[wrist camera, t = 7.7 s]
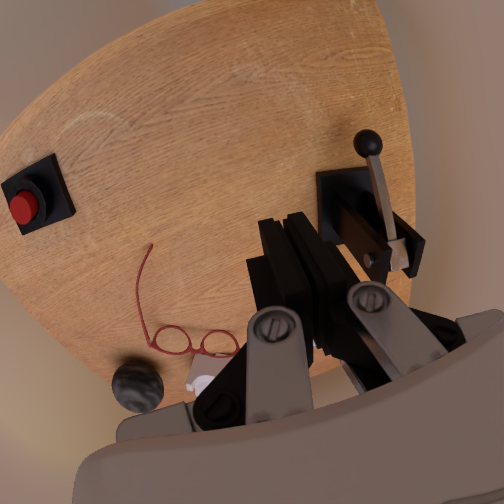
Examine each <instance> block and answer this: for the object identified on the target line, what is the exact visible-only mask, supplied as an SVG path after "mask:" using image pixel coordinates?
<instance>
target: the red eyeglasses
mask: <svg viewBox="0 0 504 504" xmlns="http://www.w3.org/2000/svg"><path fill="white" fill-rule="evenodd" d="M152 248H153V244H151V246H150V248H149V250H148V252H147V254H146V256H145V258H144V260H143V262H142V264H141V267H140V269H139V273H138V276H137V281H136V298H137V305H138V310H139V314H140V318H141V323H142V327H143V330H144V334H145V337H146V340H147V343H148V346H149V347H151V348H154V349H156V350H158V351H160V352H163V353H166V354H171V355H182V354H185V353H188V352H191V353H193V354H201V353H204V354H205V355H207V356H210V357H213V358H230V357H234V356H235V355H236V353H237V352H238V351H239V350H240V348H239V345H238V342H237V340H236V338H235V337H234V336H233V335H232V334H230V333H228V332H226V331H223V330H214V331H211V332H209V333H208V334H207V335H206V336H205V337H204V338H203V340H202V342H201V345H200V347H201V348H200V349H198V350H195V349H193V348H192V343H191V340H190V338H189V336H188V334H187V333H186V332H185V331H184V330H183V329H181V328H179V327H177V326H165V327H162V328H160V329H159V330H158V331H157V332H156V334H155V336H154V338H153V341H152V342H151V340H150V338H149V335H148V332H147V330H146V326H145V323H144V320H143V316H142V312H141V307H140V302H139V295H138V285H139V279H140V275H141V271H142V269H143V266H144V263H145V261H146V259H147V257H148V255H149V253H150V252H151V250H152ZM166 328H175V329H178V330H180V331H182V332H183V333H184V334H185V335H186V336H187V338H188V340H189V346H188V348H187V349H186V350H185V351H183V352H179V353H173V352H168V351H165V350H162V349H161V348H159V347H158V345H157V343H156V337H157V335H158V333H159V332H160V331H161V330H163V329H166ZM215 332H222V333H225V334H227V335H229V336H230V337H232V338H233V340H234V341H235V343H236V350H235V352H234V353H233V354H231V355H228V356H214V355H211V354H209V353H208V352H207V351H206V350H205V348H204V340H205V338H206V337H207V336H208V335H210V334H212V333H215Z"/></svg>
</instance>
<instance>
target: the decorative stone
mask: <svg viewBox="0 0 504 504" xmlns="http://www.w3.org/2000/svg"><path fill="white" fill-rule="evenodd" d="M112 390H113V393H114V395H115V398H116V400H117V401H118V402H119V403H120V404H121V405H122V406H123V407H124V408H126V409H127V410H129V411H132V412H137V413H146V412H149V411H151V410H153V409H155V408H156V407H157V406H158V405H159V404H160V402H161V401H162V399H163V396H164V385H163V381H162V379H161V377H160V375H159V374H158V372H157V371H156V370H155V369H154V368H152V367H151V366H150V365H147V364H145V363H142V362H128V363H125V364H123V365H122V366H120V367H119V368H118V369H117V370H116V372H115V373H114V376H113V379H112Z"/></svg>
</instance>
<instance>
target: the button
mask: <svg viewBox="0 0 504 504" xmlns="http://www.w3.org/2000/svg"><path fill="white" fill-rule="evenodd" d="M10 211H11V214H12V216H13V218H14V219H15V221H16V222H18V223H19V224H27V223H28V222H29V221H30V220H31V219H32V218H33V217H34V216H35V215H36V213H37V211H38V203H37V200H36V198H35V196H34V195H33V194H32V193H31V192H29V191H26V190H24V191H21V192H20V193H19V194H18V195H16V196H15V197H14V198H13V199H12V200H11V203H10Z"/></svg>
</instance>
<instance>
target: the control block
mask: <svg viewBox="0 0 504 504" xmlns="http://www.w3.org/2000/svg"><path fill="white" fill-rule="evenodd" d="M1 187H2V190H3V192H4V195H5V198H6V200H7V203H8V206H9V209H10V203H11V200H12V199H13V198H14V197H15V196H16V195H18V194H19V193H20V192H21V191H24V190H26V191H29V192H31V193H32V194H33V195H34V196H35V198H36V200H37V203H38V211H37V213H36V215H35V216H34V217H33V218H32V219H31V220H30V221H29V222H28V223H27V224H19V223H18V222H16V223H17V225H18V227H19V229H20V232H21V234H22V235H25V234H28V233H30V232H32V231H35V230H37V229H40V228H42V227H45V226H48V225H50V224H53V223H55V222H58V221H61V220H63V219H66V218H69V217H72V216H73V215H74V214H75V213H76V210H75V208H74V205H73V203H72V201H71V198H70V196H69V193H68V190H67V188H66V185H65V182H64V180H63V177H62V174H61V171H60V168H59V165H58V162H57V159H56V156H55V153H53V154H51V155H49V156H47V157H46V158H44V159H42V160H40V161H38V162H36V163H34V164H33V165H31V166H29V167H27V168H26V169H24V170H22V171H20V172H19V173H17V174H15V175H14V176H12V177H11V178H9V179H7V180H6V181H4V182H3V183H2V184H1ZM10 212H11V211H10ZM13 219H14V218H13ZM14 220H15V219H14Z"/></svg>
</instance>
